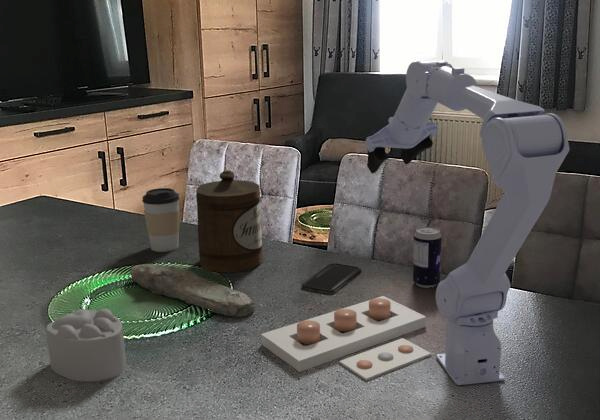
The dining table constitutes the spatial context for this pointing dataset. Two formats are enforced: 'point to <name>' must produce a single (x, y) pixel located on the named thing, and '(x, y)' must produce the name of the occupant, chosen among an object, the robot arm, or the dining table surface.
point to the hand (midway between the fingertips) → (387, 164)
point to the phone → (331, 278)
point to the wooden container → (229, 224)
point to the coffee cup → (162, 218)
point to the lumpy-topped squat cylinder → (87, 345)
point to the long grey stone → (192, 289)
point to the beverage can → (427, 257)
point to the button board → (341, 335)
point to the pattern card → (384, 359)
